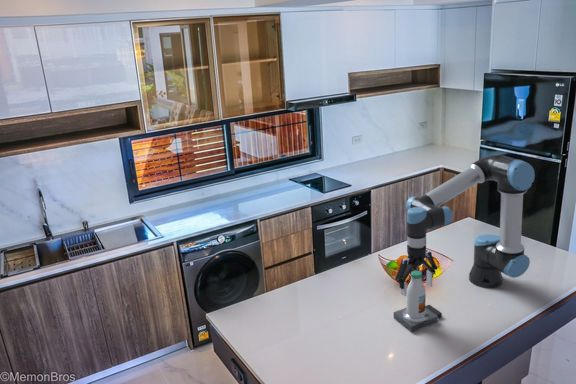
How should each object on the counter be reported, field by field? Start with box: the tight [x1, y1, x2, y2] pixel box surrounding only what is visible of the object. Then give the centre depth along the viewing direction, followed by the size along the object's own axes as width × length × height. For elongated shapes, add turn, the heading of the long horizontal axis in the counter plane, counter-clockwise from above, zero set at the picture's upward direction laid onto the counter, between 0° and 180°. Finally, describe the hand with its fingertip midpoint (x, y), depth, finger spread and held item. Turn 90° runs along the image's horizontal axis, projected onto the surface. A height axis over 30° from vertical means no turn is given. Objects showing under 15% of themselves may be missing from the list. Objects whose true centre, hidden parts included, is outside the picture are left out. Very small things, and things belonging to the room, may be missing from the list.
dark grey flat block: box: [393, 304, 443, 333], centre depth 208 cm, size 18×12×3 cm, turn 115°
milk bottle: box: [406, 270, 426, 319], centre depth 203 cm, size 8×8×20 cm
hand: (416, 289), depth 203 cm, fingers open, 13 cm apart
